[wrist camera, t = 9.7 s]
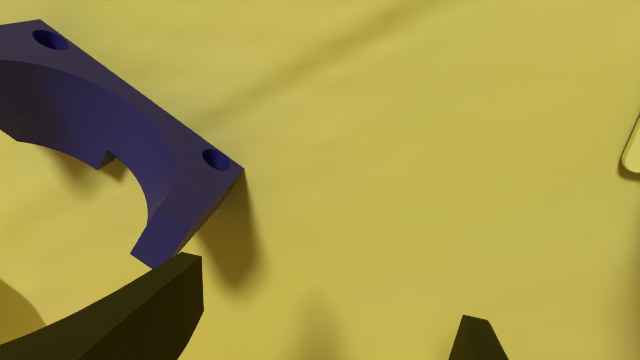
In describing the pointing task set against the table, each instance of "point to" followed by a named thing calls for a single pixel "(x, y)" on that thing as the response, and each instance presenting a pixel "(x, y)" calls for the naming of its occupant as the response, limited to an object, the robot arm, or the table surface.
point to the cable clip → (111, 132)
